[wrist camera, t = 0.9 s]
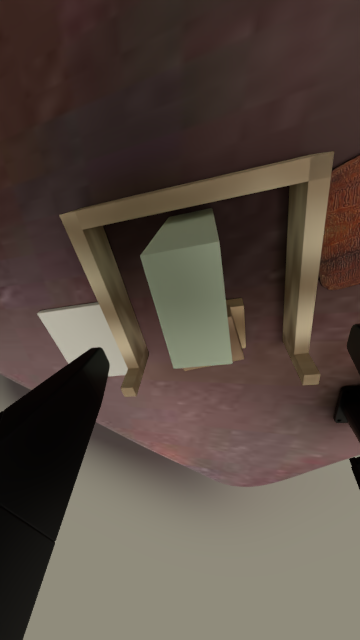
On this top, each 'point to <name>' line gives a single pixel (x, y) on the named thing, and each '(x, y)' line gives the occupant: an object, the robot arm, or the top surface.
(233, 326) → the tan flat block
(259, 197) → the top surface
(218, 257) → the sage green prism
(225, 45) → the top surface
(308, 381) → the rack
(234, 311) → the oak offcut
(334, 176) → the wooden tablet
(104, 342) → the grey mat
